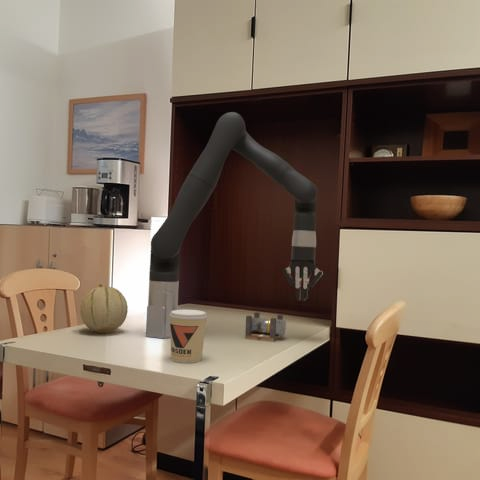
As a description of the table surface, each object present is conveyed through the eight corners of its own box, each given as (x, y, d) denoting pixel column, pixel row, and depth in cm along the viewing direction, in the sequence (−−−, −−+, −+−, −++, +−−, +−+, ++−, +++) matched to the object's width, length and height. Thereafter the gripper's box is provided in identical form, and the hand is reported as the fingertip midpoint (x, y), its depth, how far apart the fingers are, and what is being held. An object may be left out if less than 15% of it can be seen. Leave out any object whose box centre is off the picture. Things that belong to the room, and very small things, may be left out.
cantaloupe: (103, 338, 144) (105, 288, 144) (68, 332, 151) (70, 284, 151) (136, 332, 157) (138, 285, 157) (103, 326, 164) (105, 282, 164)
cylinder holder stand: (273, 342, 151) (274, 318, 151) (245, 338, 154) (246, 316, 154) (282, 336, 160) (283, 314, 160) (254, 333, 164) (255, 312, 164)
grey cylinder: (248, 334, 156) (249, 318, 156) (253, 331, 161) (253, 315, 161) (281, 337, 153) (282, 321, 153) (285, 334, 157) (286, 318, 157)
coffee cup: (160, 360, 121) (163, 312, 121) (178, 353, 130) (180, 308, 130) (194, 365, 118) (197, 315, 118) (210, 357, 126) (212, 311, 127)
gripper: (280, 244, 152) (277, 299, 152) (323, 246, 148) (320, 303, 148) (285, 244, 159) (283, 297, 159) (327, 246, 155) (324, 301, 155)
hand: (301, 300), depth 153 cm, fingers closed
